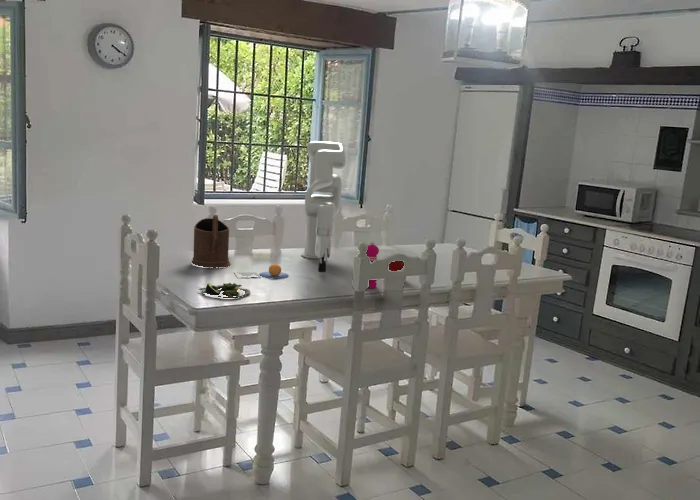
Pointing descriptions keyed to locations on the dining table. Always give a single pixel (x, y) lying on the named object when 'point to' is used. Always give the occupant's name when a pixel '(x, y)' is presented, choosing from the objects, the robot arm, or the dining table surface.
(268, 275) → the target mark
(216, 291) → the salad plate
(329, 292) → the dining table surface
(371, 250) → the pepper mill
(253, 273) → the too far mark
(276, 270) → the ball
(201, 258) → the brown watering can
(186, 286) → the dining table surface
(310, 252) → the robot arm
